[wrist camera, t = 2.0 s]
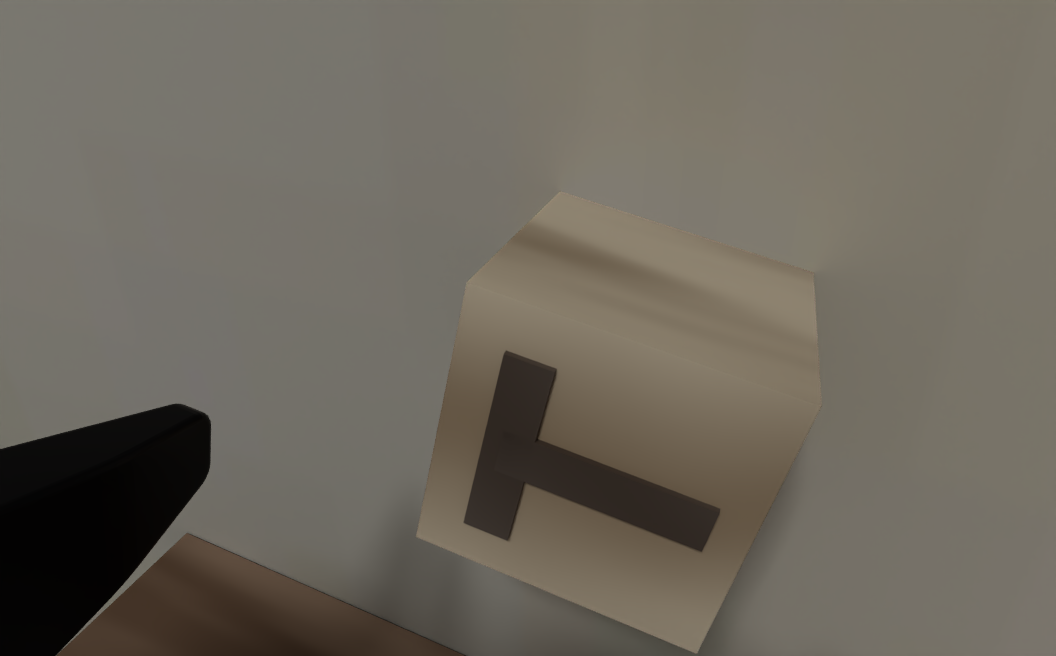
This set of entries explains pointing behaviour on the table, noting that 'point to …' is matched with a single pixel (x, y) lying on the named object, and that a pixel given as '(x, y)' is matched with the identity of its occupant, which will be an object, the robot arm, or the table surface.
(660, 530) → the maple cube
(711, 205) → the table surface
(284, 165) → the table surface
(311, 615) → the brown wooden plank
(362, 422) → the table surface
